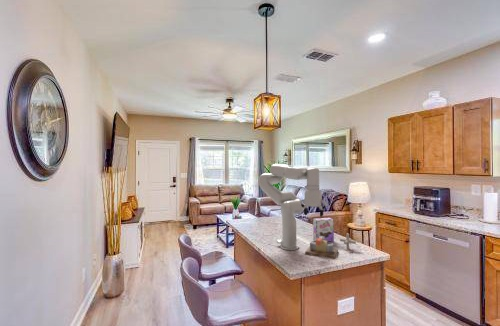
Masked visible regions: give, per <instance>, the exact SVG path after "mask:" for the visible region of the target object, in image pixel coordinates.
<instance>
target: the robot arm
mask: <svg viewBox="0 0 500 326" xmlns="http://www.w3.org/2000/svg"><path fill="white" fill-rule="evenodd" d="M269 172H270V173H262V174H261V175H259V177H258V178H257V179H258V186H259V188H260V189H261V191H262V192H263V193H265V194H266V195H267V196H268V197H269V198H270V199H271V200H272V201H273V202H274V204H276V205H277V206H280V212H281V213H280V214H281V222H282V223H281V225H282V227H281V229H282V231H281V232H282V239H277V240H276V243H277V244H280V246H279V247H280V249H282V250H285V251H296V250H298V249H299V248H300V245H298V244H297V219H296V217H295V215H298V214H301V213H303V214H304V216H307V215H308V207H313V208H319V209H320V210H319V217H320V218H321V217H322V218H323V216H324V210H325V209H326V207H327V206H328V204H329V203H328V202H327V201H325V200H324V199H323V196H322V192H321V190H320V169H319V168H317V167H291V166H290V165H289V164H285V163H274V164H271V166H270V168H269ZM284 178H286V179H289V180H295V181H300V180H306V185H305V186H304V188H305V191H304V199H302V200H301V199H300V198H299V197H297V195H296V194H294V193H293V192H291V191H289V190H285V191H282V190H280V189H279V188H277V186H275V185H277V184H279V183H281V182H282V180H283V179H284ZM323 204H324V205H323Z"/></svg>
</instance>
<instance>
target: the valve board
mask: <svg viewBox="0 0 500 326" xmlns="http://www.w3.org/2000/svg"><path fill="white" fill-rule="evenodd" d="M338 253H339V249H337V248H336V249H335V248H334V252H333V253H329V252H326V253H323V252H316V251H315V250H313V251H311V250H310V246H309V247H308V248H307V249H306V250H305V251H304V254H305V255H307V256H315V257H322V258H328V259H333V260H334V259H336V258H337V255H338Z"/></svg>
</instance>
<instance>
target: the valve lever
mask: <svg viewBox="0 0 500 326" xmlns="http://www.w3.org/2000/svg"><path fill="white" fill-rule="evenodd" d="M322 240H324V236H319V238H317V239H316V240H315V241H314V242H315V244H316V245H321V244H322Z"/></svg>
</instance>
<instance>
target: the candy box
mask: <svg viewBox="0 0 500 326" xmlns="http://www.w3.org/2000/svg"><path fill="white" fill-rule="evenodd" d="M312 221H313V223H312V224H313V225H312V226H313V228H312V232H313V233H312V236H313V237H312V241H314V242H315V240H316V239H317V238H319V236H324V240H326V241H327V243H328V242H329V243H330V242H334V241H335V240H334V239H335V235H334V234H335V233H334V232H335V231H334V221H335V220H334V219H333V218H331V217H322V218H321V217H320V218H318V217H317V218H313V219H312Z"/></svg>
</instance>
